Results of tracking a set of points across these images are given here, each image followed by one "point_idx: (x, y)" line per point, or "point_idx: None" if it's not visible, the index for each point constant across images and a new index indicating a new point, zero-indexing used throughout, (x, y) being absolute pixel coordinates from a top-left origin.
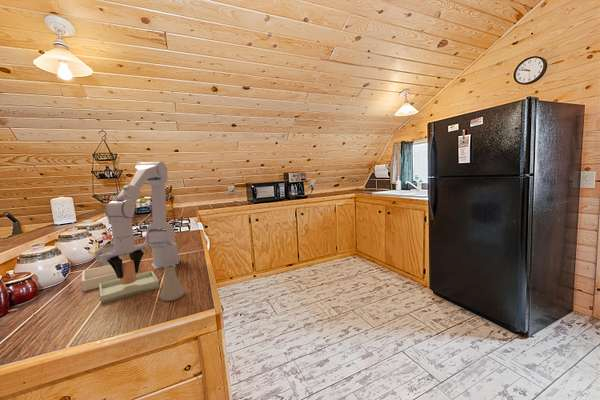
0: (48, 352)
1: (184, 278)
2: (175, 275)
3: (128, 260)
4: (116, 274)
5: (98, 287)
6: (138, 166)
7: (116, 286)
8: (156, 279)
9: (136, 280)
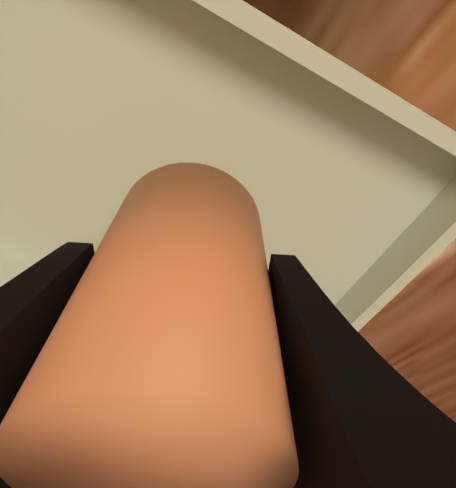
0: None
1: (440, 367)
2: None
3: (236, 449)
4: (37, 269)
5: None
6: None
7: (130, 64)
8: None
9: (321, 131)
